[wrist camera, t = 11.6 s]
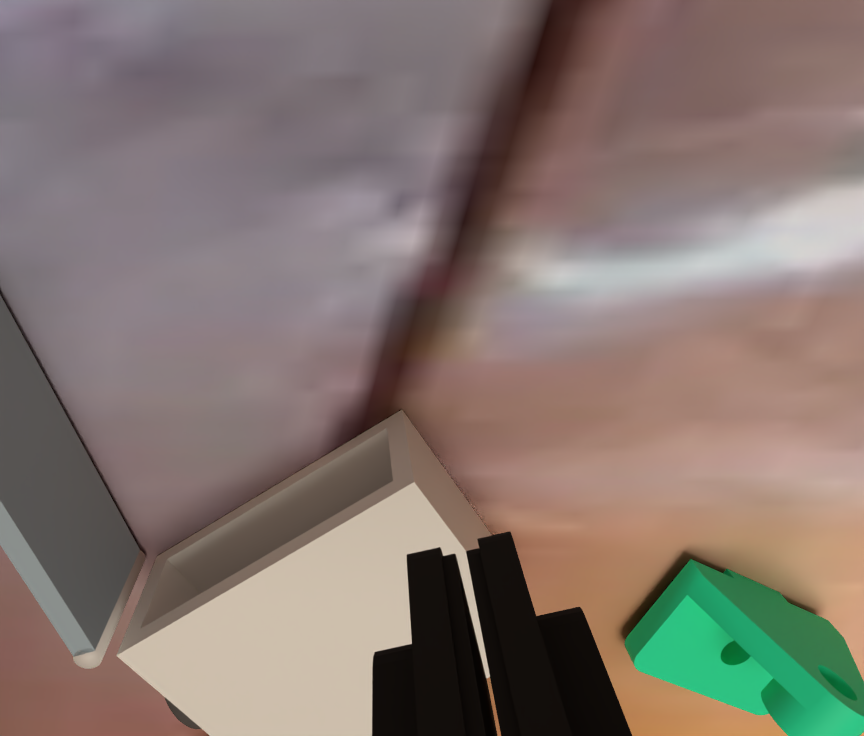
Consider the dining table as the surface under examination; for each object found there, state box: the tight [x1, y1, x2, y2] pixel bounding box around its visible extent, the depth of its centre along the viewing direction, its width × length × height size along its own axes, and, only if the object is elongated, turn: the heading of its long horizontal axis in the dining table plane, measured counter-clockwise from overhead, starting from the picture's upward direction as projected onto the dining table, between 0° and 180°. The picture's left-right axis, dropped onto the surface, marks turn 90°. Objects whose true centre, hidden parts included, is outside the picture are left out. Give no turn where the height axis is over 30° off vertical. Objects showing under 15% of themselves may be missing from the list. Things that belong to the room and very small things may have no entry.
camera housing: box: [117, 410, 492, 736], centre depth 35 cm, size 18×12×7 cm
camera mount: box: [625, 559, 864, 736], centre depth 39 cm, size 12×8×10 cm, turn 60°
